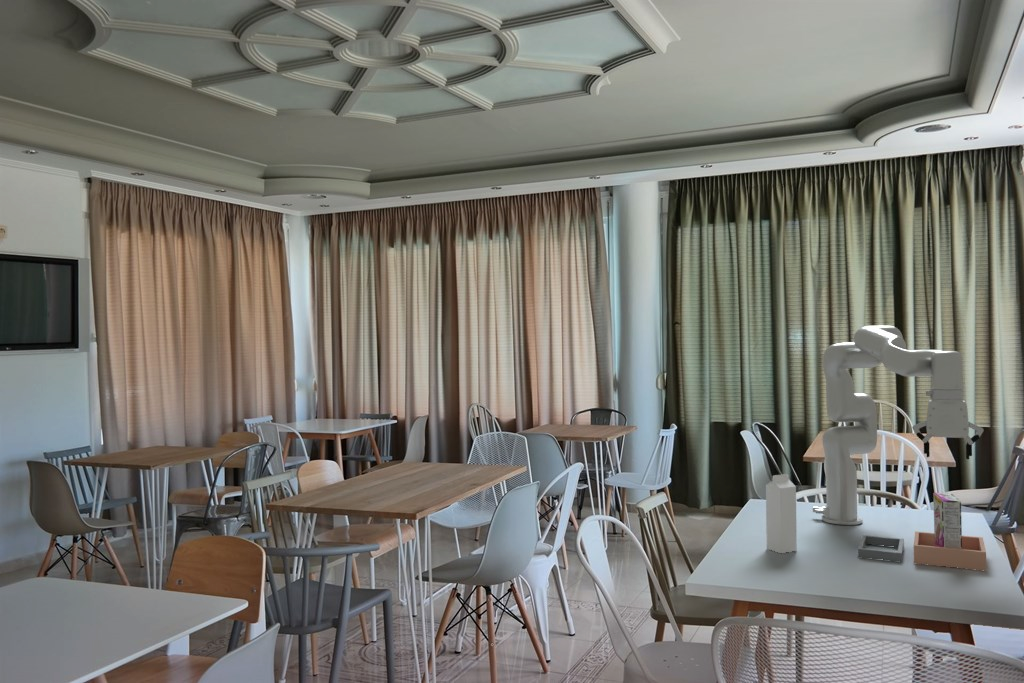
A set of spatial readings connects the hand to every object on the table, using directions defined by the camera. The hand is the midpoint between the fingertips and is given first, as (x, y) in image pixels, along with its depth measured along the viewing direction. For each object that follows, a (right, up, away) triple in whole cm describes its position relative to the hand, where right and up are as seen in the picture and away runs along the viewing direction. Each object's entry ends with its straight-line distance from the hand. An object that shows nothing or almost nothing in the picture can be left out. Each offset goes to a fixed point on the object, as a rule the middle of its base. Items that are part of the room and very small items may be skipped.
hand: (947, 457), depth 223 cm
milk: (-42, -29, +12) cm, 52 cm away
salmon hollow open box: (0, -28, 0) cm, 28 cm away
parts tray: (-15, -28, +8) cm, 33 cm away
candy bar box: (0, -27, 0) cm, 27 cm away
